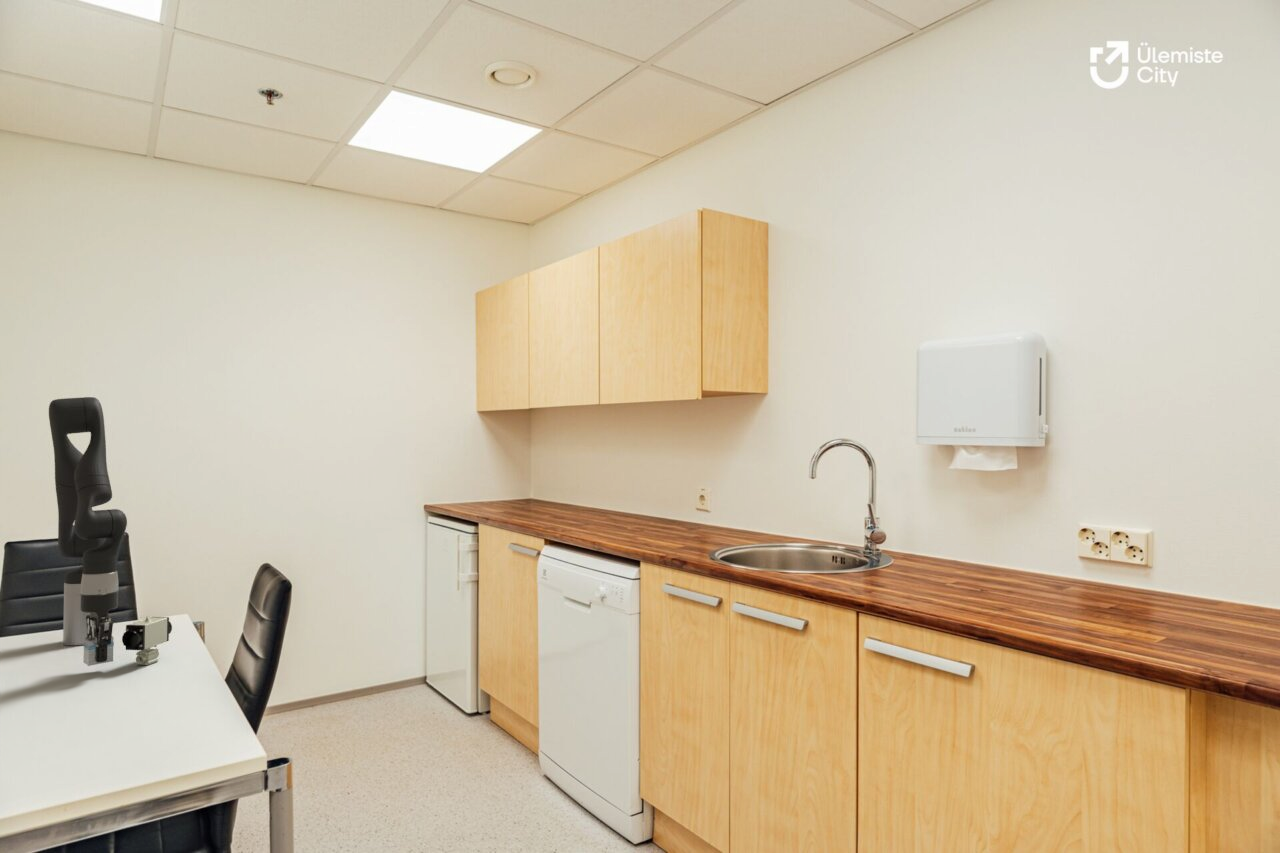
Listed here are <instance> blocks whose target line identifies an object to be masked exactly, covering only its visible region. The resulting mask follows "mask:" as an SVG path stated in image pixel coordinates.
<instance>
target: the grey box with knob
mask: <svg viewBox="0 0 1280 853" xmlns="http://www.w3.org/2000/svg"><path fill="white" fill-rule="evenodd" d="M97 634H99V633H97ZM102 640H105V637H103V638H102ZM95 644H96V642H95V638H93V635H92V637H87V638H84V644H83V663H84V664H85V665H86V666H87V667H89V666H96V665H102V664H106V663H111V662H114V646H115V645H114V644H115V642H114V636H112V638H111V644H109V645H108V646H107V660H106V661H105V662H99V663H98V662H96V646H95Z"/></svg>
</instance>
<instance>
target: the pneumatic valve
mask: <svg viewBox="0 0 1280 853" xmlns="http://www.w3.org/2000/svg"><path fill="white" fill-rule="evenodd" d="M172 630H173V625H172V623H171V622H170V617H169V616H168V617H167V616H166V617H165V616H152V617H151V616H146V617H145V619H142V620H137V621H134V622H132V623H129V624H125V632H123V634H122V638H121V642H122V645H123V646H124V647H125V650H126V651H137V652H136V653H135V655H136V657H135V665H137V666H140V665H145V666H149V665H153V664H154V663H157V662H159V658H158V657H159V655H160V652H159V649H158V648H156V647H157V646H158V645H160V644H163V643H167V642H169V641H170V640H169V639H170V638H169V637H170V634H171V632H172Z"/></svg>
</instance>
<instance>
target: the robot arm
mask: <svg viewBox="0 0 1280 853" xmlns="http://www.w3.org/2000/svg"><path fill="white" fill-rule="evenodd" d="M48 419H49V426H50V432H51V439H52V440H51V441H52V447H53V455H54V482H55V494H56V502H57V510H58V511H57V513H58V514H57V515H58V519H57V520H58V523H57V524H58V530H57V532H58V534H57V536H58V538H57V540H58V541H57V542H58V543H57V545H58V546H57V548H58V552H59V555H60V556H61V558H64V559H78V558H79V559H82V566H80V567H77V568H75V569H72V570H69V571H67V572H65V574H64V578H63V580H64V583H63V624H62V625H63V631H62V632H63V634H62V643H63V645H65V646H81V645H83V646H84V638H87V637H92V635H93V638H95V642H96V644H95V646H96V662H98V663H99V662H105V661H106V660H107V646H108V645H109V644H111V638H112V635H113V627H114V622H113V621H112V618H111V616H110V615H109V612H110V611H113V610H115V609H117V608H118V607H119V575H118V574H119V573H118V558H119V552H120V547H121V544H122V541H123V538H124V536H125V533H126V529H127V527H128V519H127V516H126V513H124V511H122V510H121V509H118V508H116V509H115V508H114V509H113V508H112V509H100V510H99V509H97V510H93V508H94V507H98V506H102V505H104V504H107V503H108V502H110V501H111V500H112V498H113V493H112V492H113V491H112V487H111V481H110V476H109V471H108V465H107V445H106V442H107V441H106V430H105V418H104V411H103V408H102V404H101V402H100V400H99V399H98V398H96V397H91V396H87V397H86V396H84V397H69V398H68V397H67V398H58V399H52V401H51V402H50V403H49V406H48ZM81 433H82V434H83V433H90V440H89V443H88V445H87V447H86V449H85V451H84V453H83V452H81V451H80V450H79V449H78V448H77V447H75V445H74V444H73V443H72V441H71V440H70V438H69V437H68V435H71V434H81ZM97 633H99V634H97ZM103 637H105V640H102V638H103Z"/></svg>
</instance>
